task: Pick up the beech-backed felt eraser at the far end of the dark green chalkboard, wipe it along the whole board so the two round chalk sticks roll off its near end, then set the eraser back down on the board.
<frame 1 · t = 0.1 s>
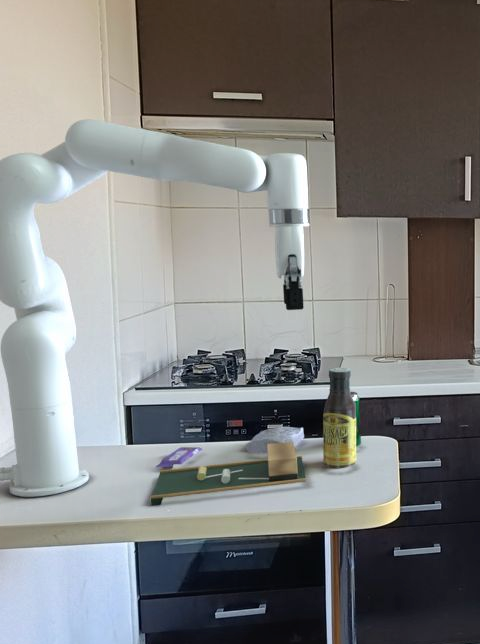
hand: (293, 306, 148), 31 cm above the counter, tool pointing down, fingers open, 9 cm apart
snack package: (181, 462, 151), on the counter
chalkboard: (232, 482, 139), on the counter
eraser: (282, 471, 141), point 1 cm above the counter, touching chalkboard
sauce bottle: (341, 469, 146), on the counter
soda can: (349, 450, 158), on the counter
stone block: (274, 450, 158), on the counter
chalk stick 1: (226, 476, 137), point 2 cm above the counter, tilted 148°, touching chalkboard
chalk stick 2: (201, 473, 138), point 2 cm above the counter, tilted 18°, touching chalkboard
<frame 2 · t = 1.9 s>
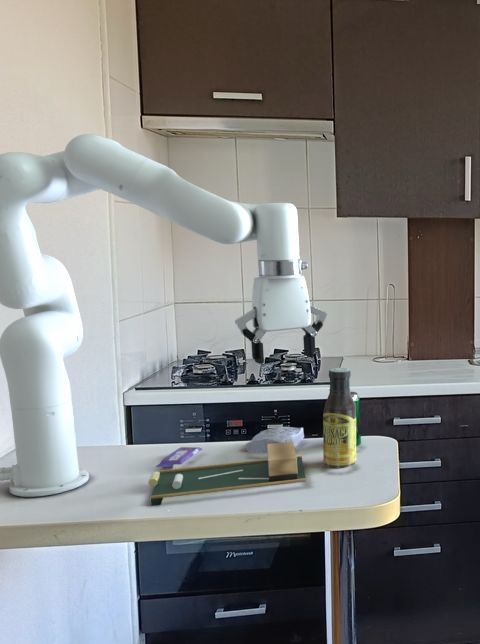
hand: (284, 359, 142), 22 cm above the counter, tool pointing down, fingers open, 9 cm apart
chalk stick 1: (177, 481, 134), point 2 cm above the counter, tilted 50°, touching chalkboard
chalk stick 2: (154, 478, 136), point 2 cm above the counter, tilted 86°, touching chalkboard
everything else where it was.
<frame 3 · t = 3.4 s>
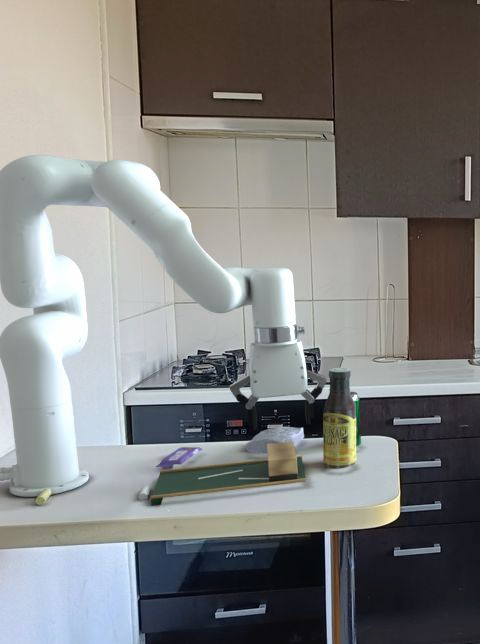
hand: (282, 425, 140), 10 cm above the counter, tool pointing down, fingers open, 9 cm apart
chalk stick 1: (144, 493, 133), on the counter, tilted 159°
chalk stick 2: (43, 496, 131), point 1 cm above the counter, tilted 110°, touching arm
everything else where it was.
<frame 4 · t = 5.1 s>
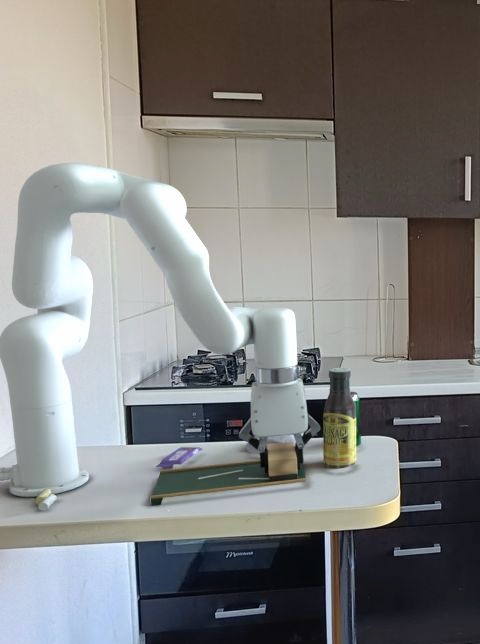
hand: (282, 467, 141), 2 cm above the counter, tool pointing down, fingers closed on eraser, 5 cm apart
eraser: (282, 471, 141), point 1 cm above the counter, touching chalkboard, gripper
chalk stick 1: (47, 502, 128), point 1 cm above the counter, tilted 115°, touching chalk stick 2
chalk stick 2: (43, 496, 131), point 1 cm above the counter, tilted 110°, touching arm, chalk stick 1
everything else where it was.
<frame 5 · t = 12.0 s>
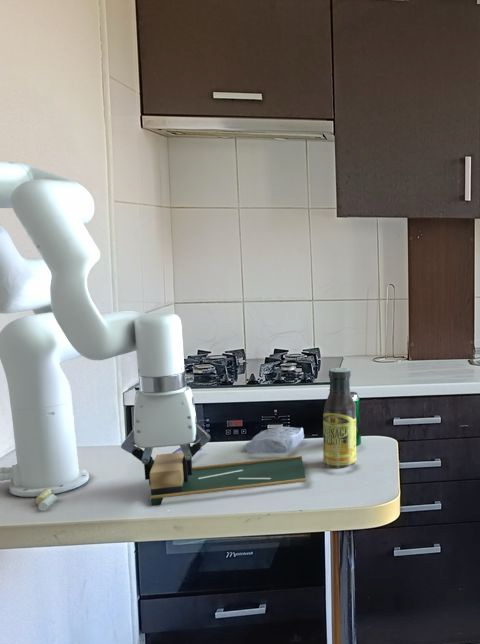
hand: (169, 480, 135), 2 cm above the counter, tool pointing down, fingers closed on eraser, 5 cm apart
eraser: (169, 483, 136), point 1 cm above the counter, touching gripper
everything else where it was.
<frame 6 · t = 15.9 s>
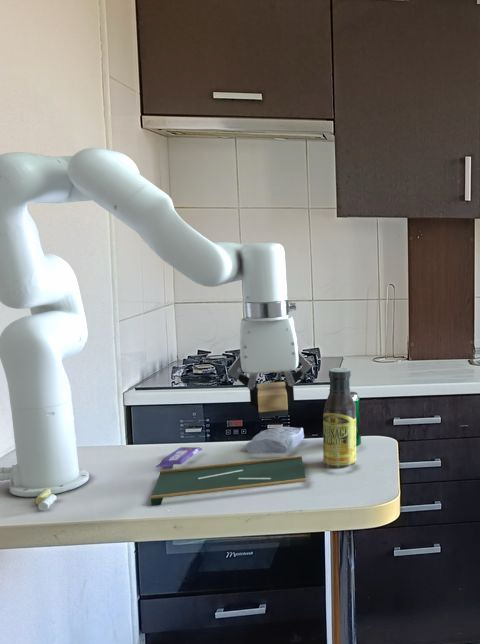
hand: (272, 406, 139), 14 cm above the counter, tool pointing down, fingers closed on eraser, 5 cm apart
eraser: (272, 409, 139), point 13 cm above the counter, touching gripper
everything else where it was.
when the fingers open (2 cm above the counter, at t = 18.9 s): eraser stays where it is, resting on chalkboard.
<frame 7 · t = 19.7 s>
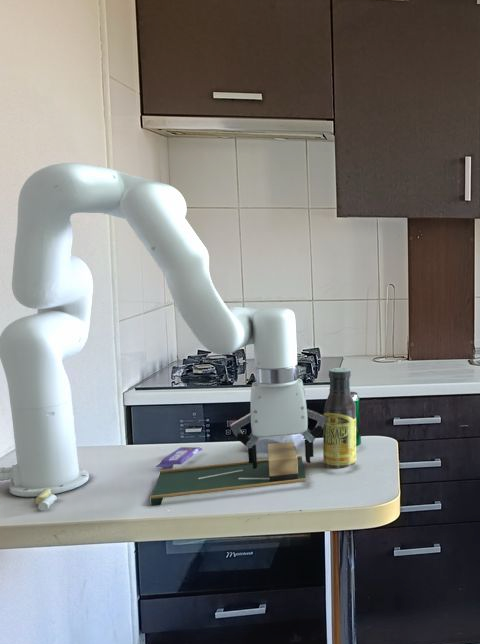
hand: (281, 463, 141), 3 cm above the counter, tool pointing down, fingers open, 9 cm apart
eraser: (282, 471, 141), point 1 cm above the counter, touching chalkboard
everything else where it was.
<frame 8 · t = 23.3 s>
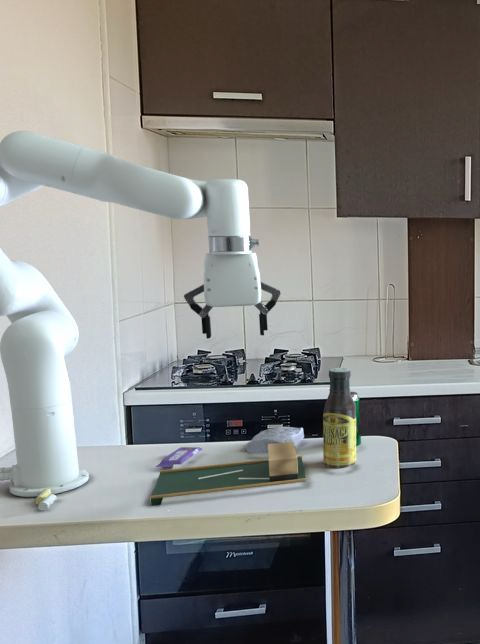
hand: (235, 335, 143), 26 cm above the counter, tool pointing down, fingers open, 9 cm apart
nothing on the counter moved.
at the end: chalk stick 1 point 0.7 cm above the counter; chalk stick 2 point 0.7 cm above the counter; eraser inside the target area (0.6 cm from its centre), point 1.2 cm above the counter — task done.
